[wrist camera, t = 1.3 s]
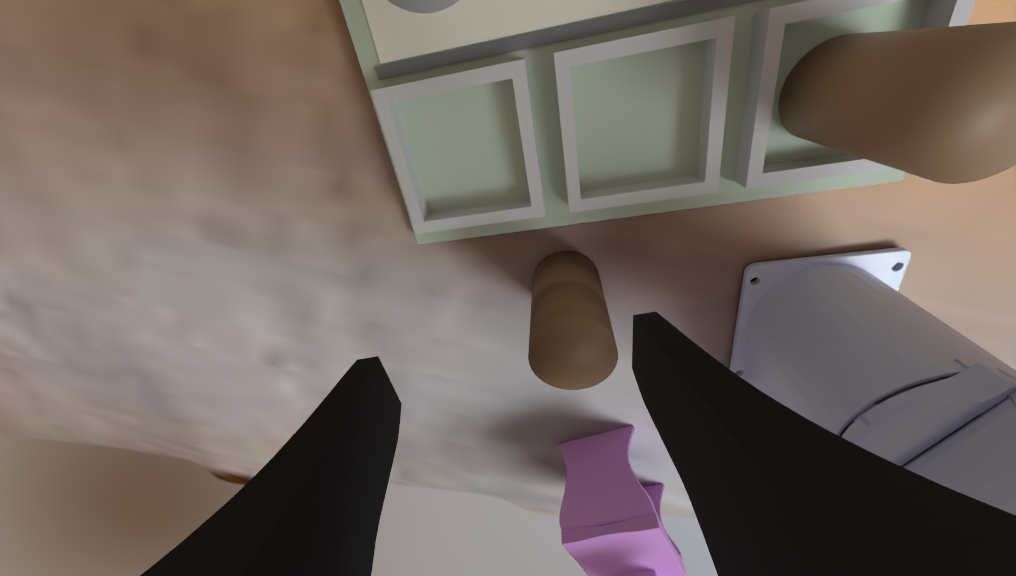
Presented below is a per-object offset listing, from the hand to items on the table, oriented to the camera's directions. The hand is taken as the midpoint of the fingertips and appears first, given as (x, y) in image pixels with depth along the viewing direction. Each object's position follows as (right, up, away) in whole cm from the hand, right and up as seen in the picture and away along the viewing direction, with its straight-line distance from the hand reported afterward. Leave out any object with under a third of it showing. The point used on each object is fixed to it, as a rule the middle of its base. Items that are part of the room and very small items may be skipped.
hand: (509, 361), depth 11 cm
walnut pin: (+3, +3, +12) cm, 13 cm away
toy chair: (+9, -12, +21) cm, 26 cm away
